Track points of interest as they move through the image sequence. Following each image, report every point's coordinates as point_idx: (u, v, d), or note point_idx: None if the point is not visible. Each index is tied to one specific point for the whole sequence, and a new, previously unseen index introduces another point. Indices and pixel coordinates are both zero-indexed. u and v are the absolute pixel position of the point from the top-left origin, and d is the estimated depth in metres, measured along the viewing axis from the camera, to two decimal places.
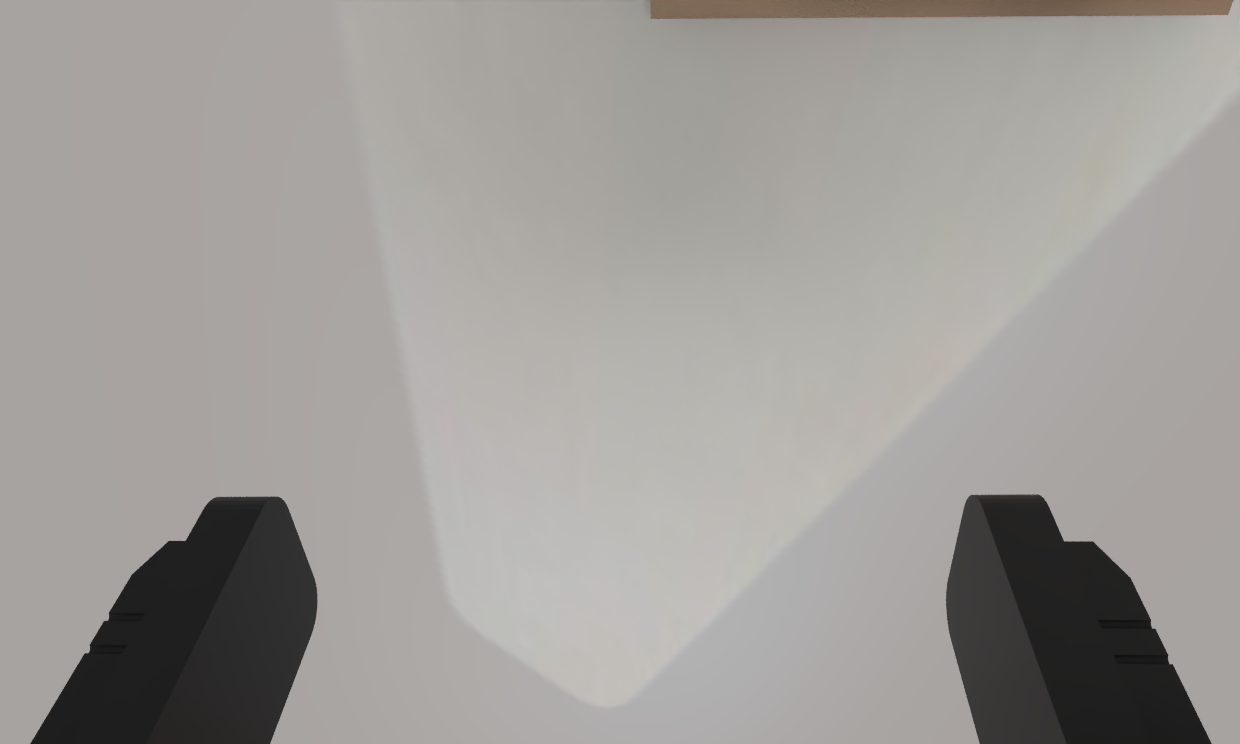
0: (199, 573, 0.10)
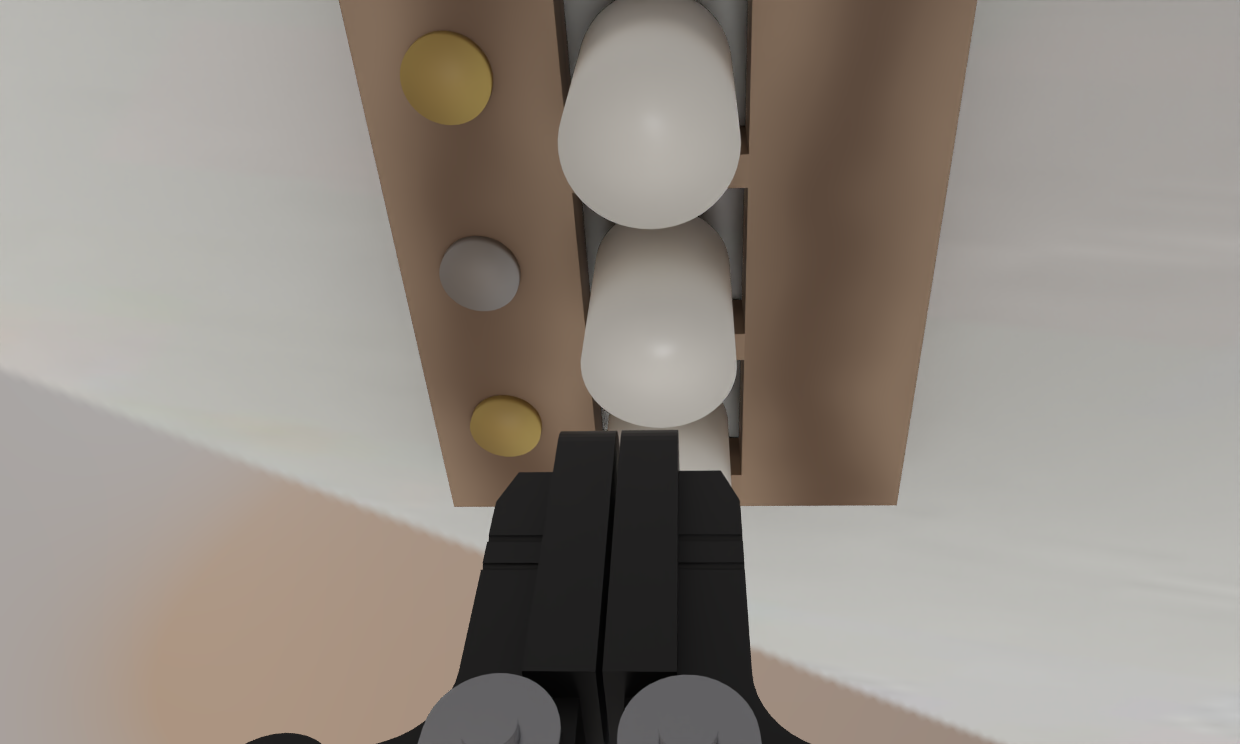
0: (579, 496, 0.10)
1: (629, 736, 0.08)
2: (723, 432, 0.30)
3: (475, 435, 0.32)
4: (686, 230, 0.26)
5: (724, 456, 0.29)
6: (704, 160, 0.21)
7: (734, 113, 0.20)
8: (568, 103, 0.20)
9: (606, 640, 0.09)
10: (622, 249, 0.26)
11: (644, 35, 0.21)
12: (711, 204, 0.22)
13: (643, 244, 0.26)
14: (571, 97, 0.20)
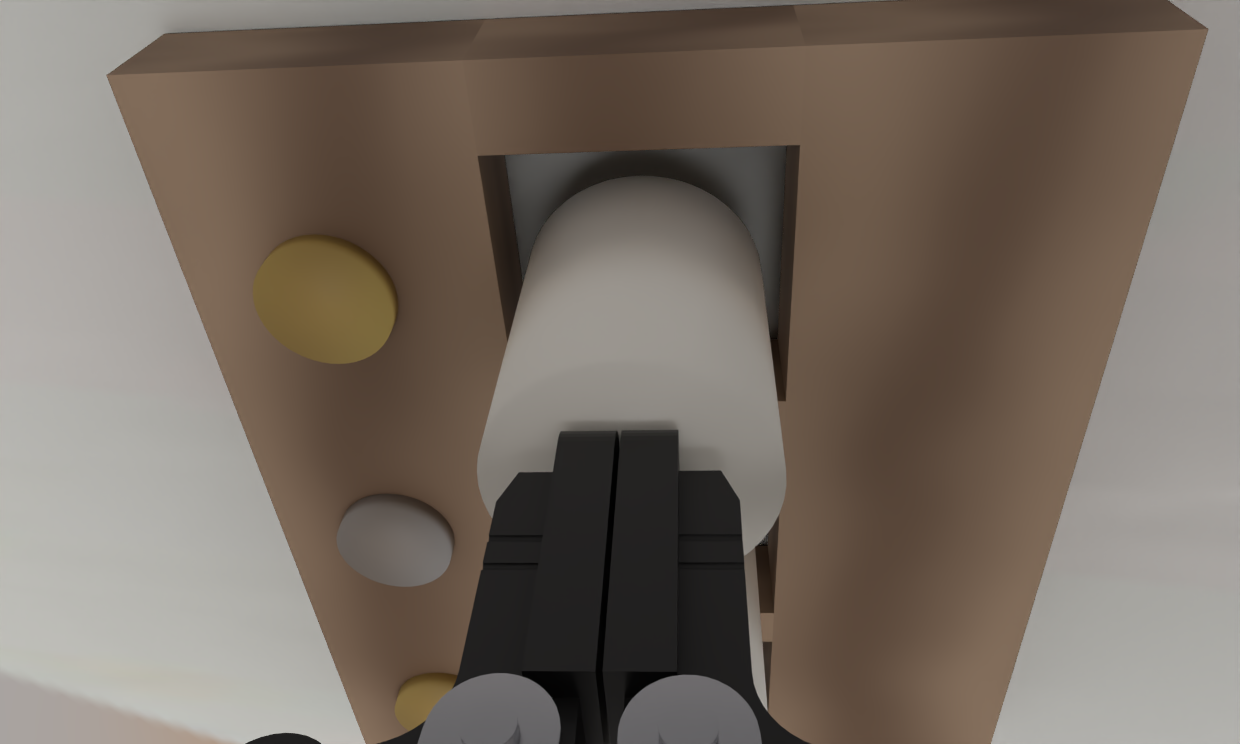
0: (579, 496, 0.10)
1: (630, 734, 0.08)
2: None
3: (403, 720, 0.24)
4: None
5: None
6: None
7: (777, 441, 0.12)
8: (492, 422, 0.12)
9: (606, 640, 0.09)
10: None
11: (623, 297, 0.12)
12: None
13: None
14: (497, 414, 0.12)
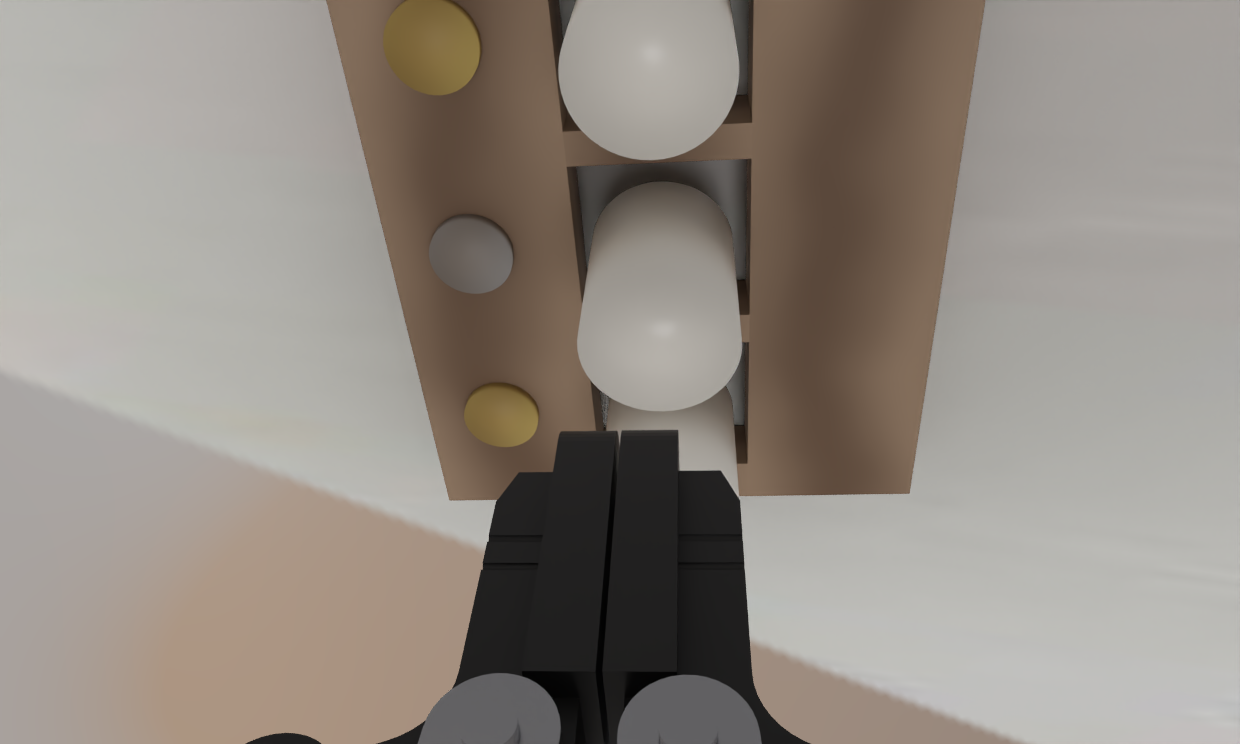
0: (579, 496, 0.10)
1: (629, 735, 0.08)
2: (728, 418, 0.29)
3: (470, 425, 0.31)
4: (686, 204, 0.25)
5: (729, 442, 0.28)
6: (703, 88, 0.21)
7: (732, 39, 0.20)
8: (568, 31, 0.21)
9: (606, 640, 0.09)
10: (619, 224, 0.25)
11: None
12: (711, 133, 0.22)
13: (642, 218, 0.24)
14: (571, 25, 0.20)
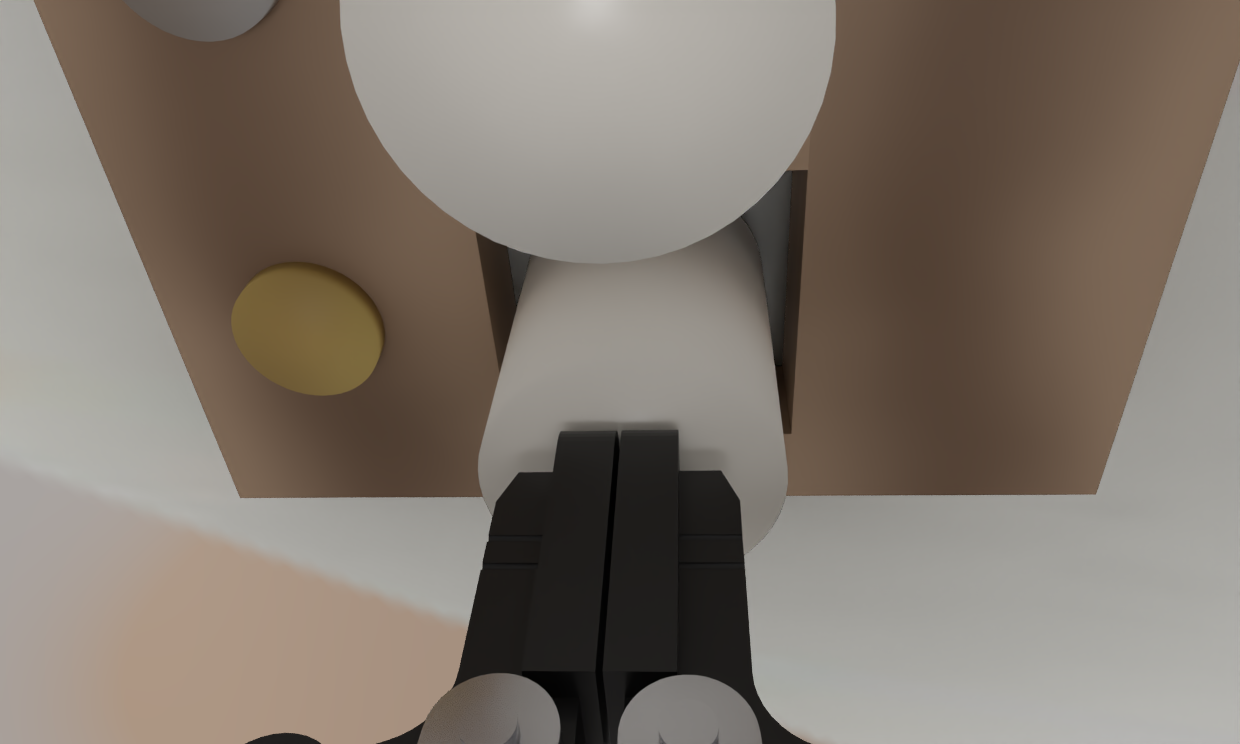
0: (579, 496, 0.10)
1: (629, 736, 0.08)
2: (757, 283, 0.14)
3: (247, 350, 0.16)
4: None
5: (762, 324, 0.13)
6: None
7: None
8: None
9: (606, 641, 0.09)
10: None
11: None
12: None
13: None
14: None
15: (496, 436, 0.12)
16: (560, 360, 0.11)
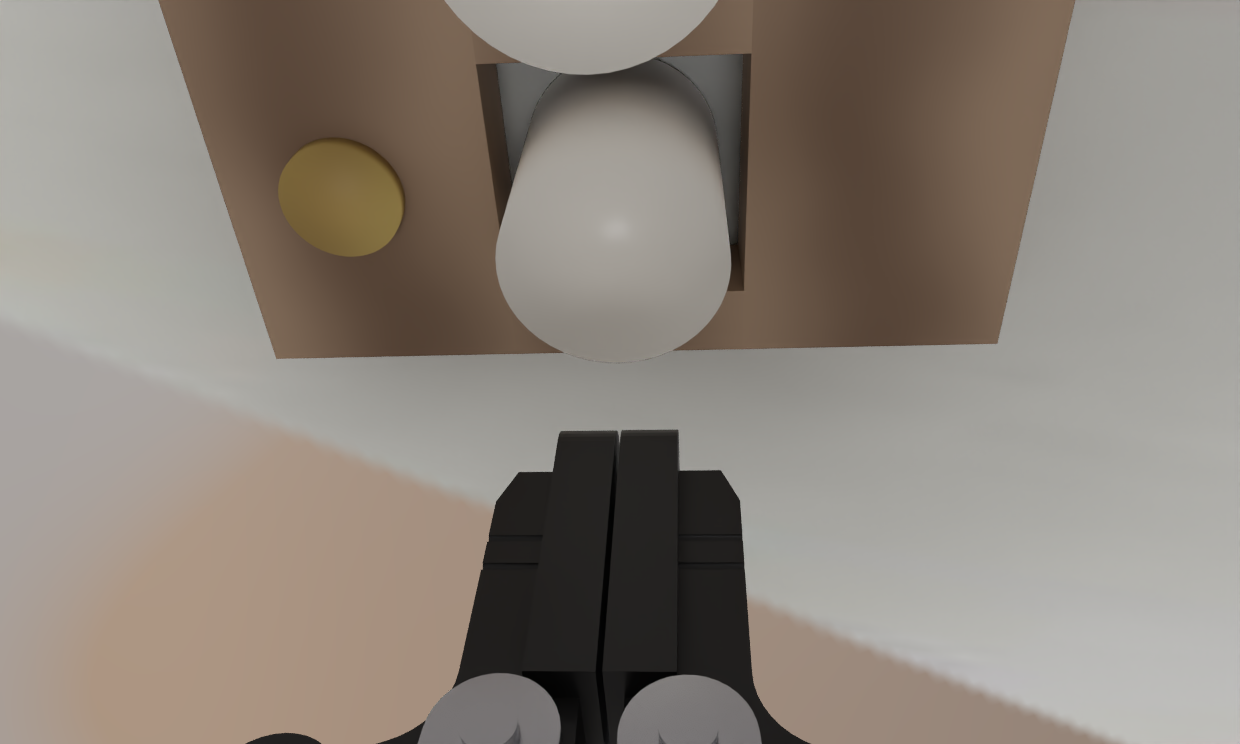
0: (579, 496, 0.10)
1: (629, 736, 0.08)
2: (711, 135, 0.18)
3: (290, 214, 0.19)
4: None
5: (713, 159, 0.17)
6: None
7: None
8: None
9: (606, 640, 0.09)
10: None
11: None
12: None
13: None
14: None
15: (510, 227, 0.16)
16: (559, 162, 0.15)
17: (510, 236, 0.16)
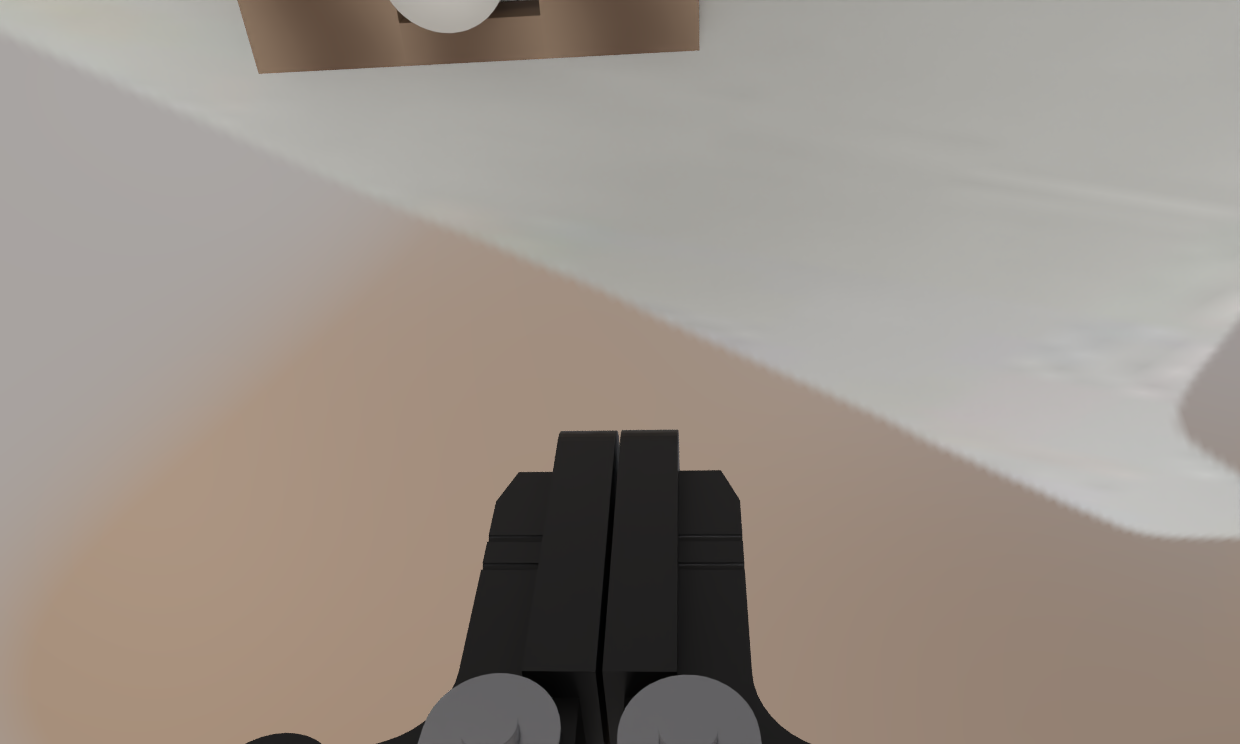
0: (579, 496, 0.10)
1: (629, 736, 0.08)
2: None
3: None
4: None
5: None
6: None
7: None
8: None
9: (606, 640, 0.09)
10: None
11: None
12: None
13: None
14: None
15: None
16: None
17: None
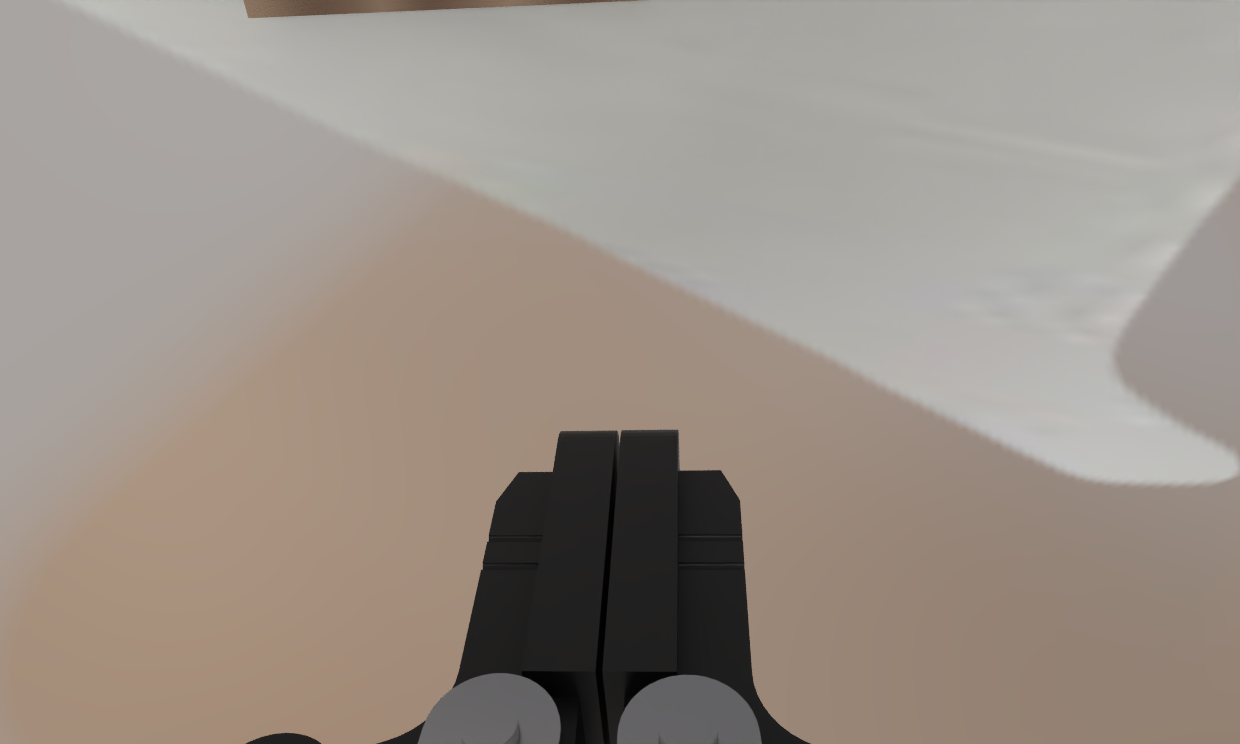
0: (579, 496, 0.10)
1: (629, 736, 0.08)
2: None
3: None
4: None
5: None
6: None
7: None
8: None
9: (606, 640, 0.09)
10: None
11: None
12: None
13: None
14: None
15: None
16: None
17: None
